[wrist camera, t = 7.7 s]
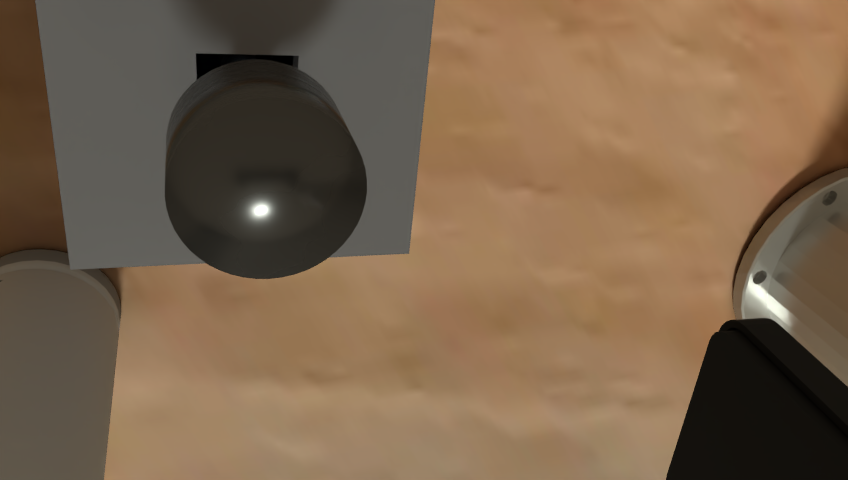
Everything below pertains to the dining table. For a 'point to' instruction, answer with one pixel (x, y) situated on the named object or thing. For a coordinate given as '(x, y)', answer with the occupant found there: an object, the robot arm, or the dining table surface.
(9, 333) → the travel mug
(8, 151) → the dining table surface
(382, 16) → the grey box with hole
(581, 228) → the dining table surface
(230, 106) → the plunger
